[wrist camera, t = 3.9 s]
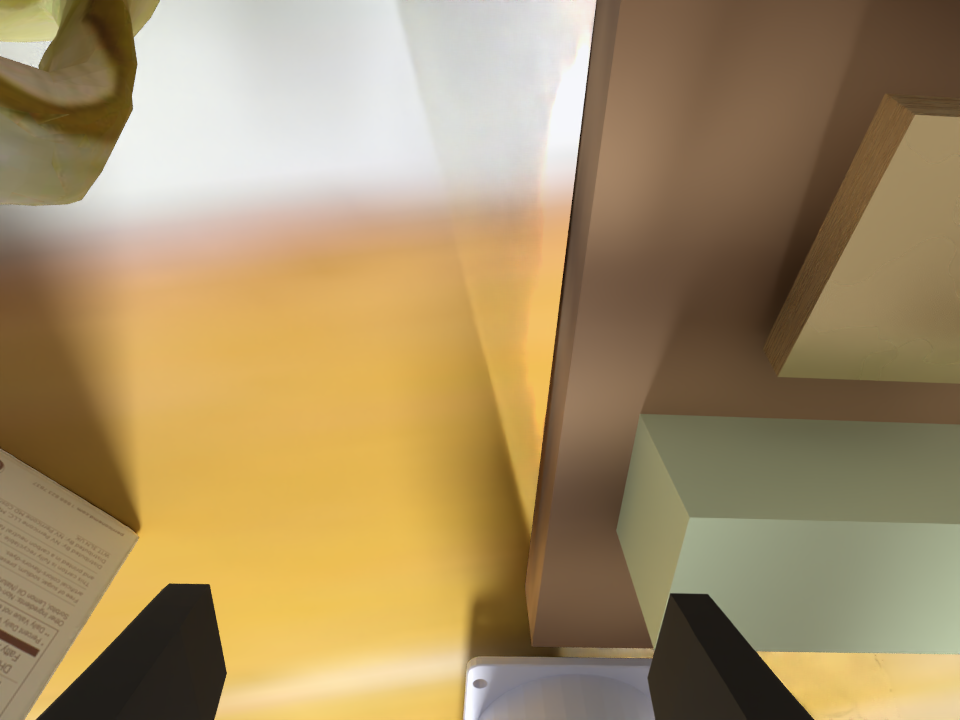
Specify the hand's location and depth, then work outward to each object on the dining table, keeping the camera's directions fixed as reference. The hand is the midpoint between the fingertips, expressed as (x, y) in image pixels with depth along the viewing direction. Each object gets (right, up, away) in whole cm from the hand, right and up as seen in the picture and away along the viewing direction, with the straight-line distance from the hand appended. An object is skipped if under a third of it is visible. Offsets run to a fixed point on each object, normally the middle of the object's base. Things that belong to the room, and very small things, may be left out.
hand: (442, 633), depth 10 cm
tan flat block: (+10, +6, +3) cm, 12 cm away
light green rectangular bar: (+11, +1, +8) cm, 13 cm away
